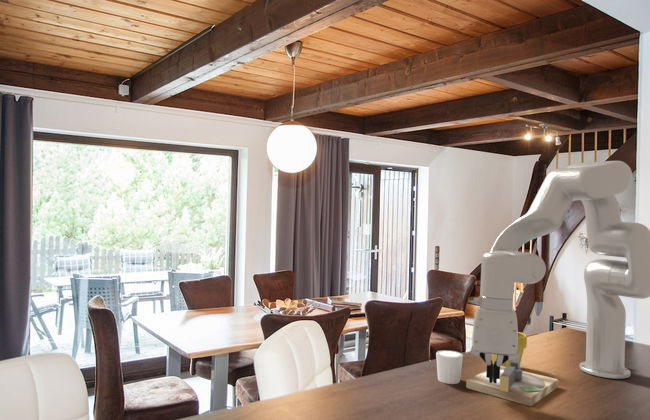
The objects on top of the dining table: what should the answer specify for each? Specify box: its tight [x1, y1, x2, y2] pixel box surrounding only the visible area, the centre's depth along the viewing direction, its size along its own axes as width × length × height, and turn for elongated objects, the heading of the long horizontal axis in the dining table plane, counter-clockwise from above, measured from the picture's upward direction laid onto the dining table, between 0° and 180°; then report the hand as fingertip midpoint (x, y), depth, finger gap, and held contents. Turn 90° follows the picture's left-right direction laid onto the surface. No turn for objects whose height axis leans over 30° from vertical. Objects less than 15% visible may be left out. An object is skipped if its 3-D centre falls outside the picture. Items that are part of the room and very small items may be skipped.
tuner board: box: [466, 366, 559, 407], centre depth 127 cm, size 18×16×2 cm
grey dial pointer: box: [500, 360, 523, 392], centre depth 124 cm, size 16×4×3 cm, turn 150°
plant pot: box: [491, 331, 528, 367], centre depth 143 cm, size 10×10×10 cm
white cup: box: [435, 349, 464, 385], centre depth 131 cm, size 7×7×7 cm
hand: (492, 381), depth 120 cm, fingers closed
